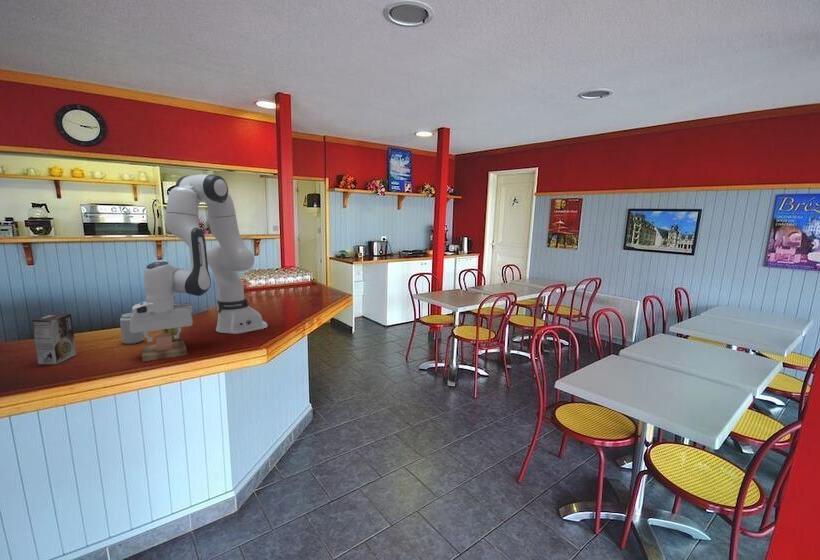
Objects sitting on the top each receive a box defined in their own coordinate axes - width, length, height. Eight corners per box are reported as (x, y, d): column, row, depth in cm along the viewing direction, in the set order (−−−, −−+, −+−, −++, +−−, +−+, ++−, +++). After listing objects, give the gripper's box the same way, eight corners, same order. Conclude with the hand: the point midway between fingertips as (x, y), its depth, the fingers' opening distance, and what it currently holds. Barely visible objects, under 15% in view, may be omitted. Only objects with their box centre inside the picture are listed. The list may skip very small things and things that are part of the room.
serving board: (184, 345, 156) (183, 340, 155) (187, 354, 145) (186, 349, 145) (142, 351, 148) (141, 346, 147) (142, 361, 137) (141, 356, 137)
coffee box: (58, 355, 141) (53, 313, 139) (77, 355, 142) (72, 313, 139) (37, 364, 132) (30, 319, 130) (56, 364, 133) (51, 319, 130)
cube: (171, 345, 149) (170, 332, 149) (172, 348, 145) (171, 336, 145) (156, 347, 147) (155, 334, 146) (156, 351, 143) (155, 338, 142)
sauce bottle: (160, 342, 158) (156, 295, 155) (177, 339, 163) (174, 293, 160) (165, 346, 154) (161, 298, 151) (182, 342, 159) (179, 296, 155)
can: (132, 345, 153) (130, 316, 151) (117, 344, 155) (114, 315, 153) (148, 340, 161) (146, 312, 159) (134, 338, 162) (131, 311, 160)
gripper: (191, 300, 152) (193, 334, 154) (127, 306, 140) (131, 342, 142) (193, 303, 147) (195, 338, 149) (127, 310, 135) (130, 347, 137)
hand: (163, 340), depth 146 cm, fingers open, 7 cm apart
